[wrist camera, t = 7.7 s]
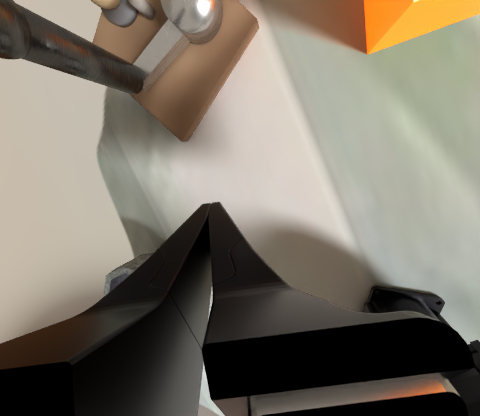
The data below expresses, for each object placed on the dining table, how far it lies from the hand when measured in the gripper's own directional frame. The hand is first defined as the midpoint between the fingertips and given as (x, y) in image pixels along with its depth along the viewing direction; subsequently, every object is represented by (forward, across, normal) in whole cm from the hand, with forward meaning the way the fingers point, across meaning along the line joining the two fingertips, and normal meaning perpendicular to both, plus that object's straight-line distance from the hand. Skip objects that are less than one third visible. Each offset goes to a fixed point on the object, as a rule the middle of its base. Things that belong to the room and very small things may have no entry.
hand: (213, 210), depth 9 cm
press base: (+17, +4, -9) cm, 19 cm away
